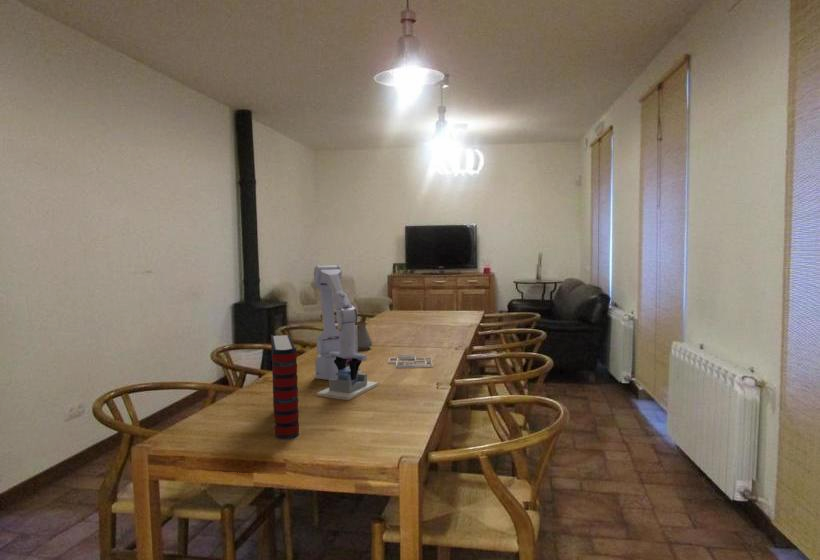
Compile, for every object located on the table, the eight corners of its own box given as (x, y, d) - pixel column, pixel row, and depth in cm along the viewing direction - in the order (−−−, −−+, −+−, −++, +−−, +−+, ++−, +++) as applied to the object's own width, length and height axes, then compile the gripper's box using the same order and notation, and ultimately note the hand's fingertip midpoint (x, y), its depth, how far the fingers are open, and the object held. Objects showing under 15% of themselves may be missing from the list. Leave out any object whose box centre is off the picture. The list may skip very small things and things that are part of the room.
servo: (335, 385, 187) (335, 369, 186) (351, 378, 196) (350, 363, 195) (345, 387, 185) (344, 370, 185) (360, 379, 194) (359, 364, 194)
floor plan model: (376, 359, 241) (376, 355, 241) (431, 358, 241) (431, 354, 240) (373, 369, 222) (373, 365, 222) (432, 369, 222) (432, 364, 222)
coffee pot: (350, 346, 268) (350, 316, 267) (373, 346, 268) (373, 316, 267) (343, 355, 247) (343, 323, 246) (368, 355, 247) (367, 323, 245)
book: (300, 438, 146) (297, 349, 144) (274, 441, 144) (271, 350, 142) (293, 409, 170) (291, 333, 168) (271, 412, 168) (268, 334, 166)
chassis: (317, 395, 185) (316, 381, 184) (348, 381, 203) (347, 368, 202) (348, 400, 179) (348, 385, 179) (378, 385, 197) (377, 371, 196)
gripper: (324, 341, 189) (325, 379, 190) (358, 345, 183) (359, 383, 184) (335, 338, 195) (336, 374, 196) (369, 341, 189) (370, 378, 190)
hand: (348, 378), depth 190 cm, fingers closed on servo, 4 cm apart
